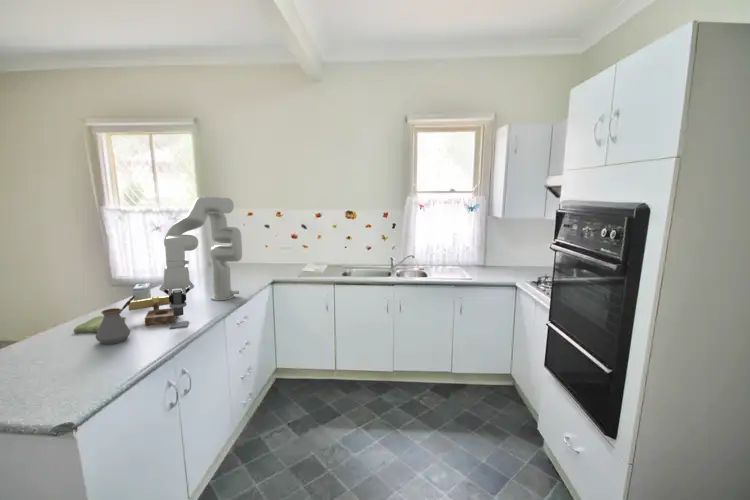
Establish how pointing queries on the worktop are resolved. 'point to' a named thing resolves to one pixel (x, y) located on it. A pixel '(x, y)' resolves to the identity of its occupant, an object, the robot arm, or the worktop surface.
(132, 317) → the worktop surface
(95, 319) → the washcloth
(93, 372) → the worktop surface
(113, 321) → the coffee pot
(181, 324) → the pad
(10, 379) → the worktop surface
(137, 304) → the clip
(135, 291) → the light bulb box
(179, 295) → the plug
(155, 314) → the socket block
